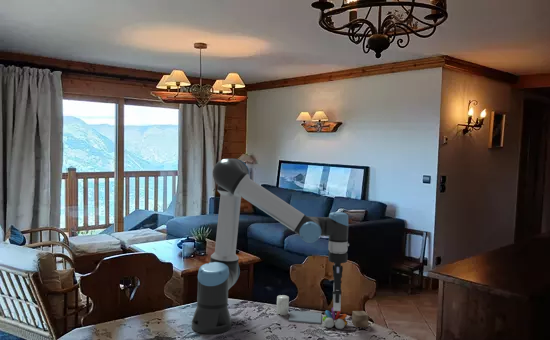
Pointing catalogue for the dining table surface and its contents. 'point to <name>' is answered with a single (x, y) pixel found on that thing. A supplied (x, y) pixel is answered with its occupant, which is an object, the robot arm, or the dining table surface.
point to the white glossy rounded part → (282, 304)
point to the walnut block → (360, 318)
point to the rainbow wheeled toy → (335, 319)
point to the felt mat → (305, 317)
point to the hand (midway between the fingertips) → (336, 305)
